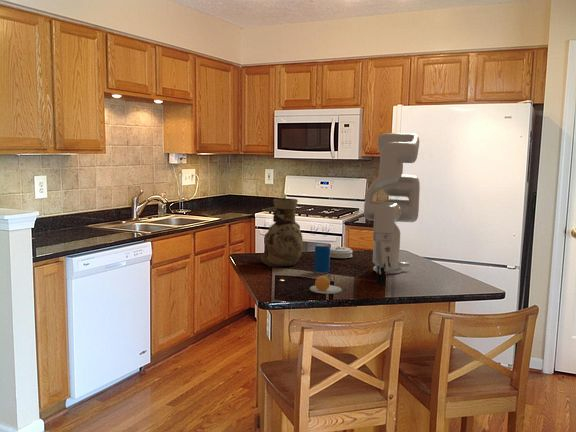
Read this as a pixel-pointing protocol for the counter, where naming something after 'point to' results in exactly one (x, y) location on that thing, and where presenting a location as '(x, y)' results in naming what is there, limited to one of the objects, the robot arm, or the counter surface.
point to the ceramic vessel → (283, 236)
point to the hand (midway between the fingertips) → (380, 283)
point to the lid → (340, 252)
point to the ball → (322, 283)
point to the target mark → (329, 291)
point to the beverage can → (322, 258)
